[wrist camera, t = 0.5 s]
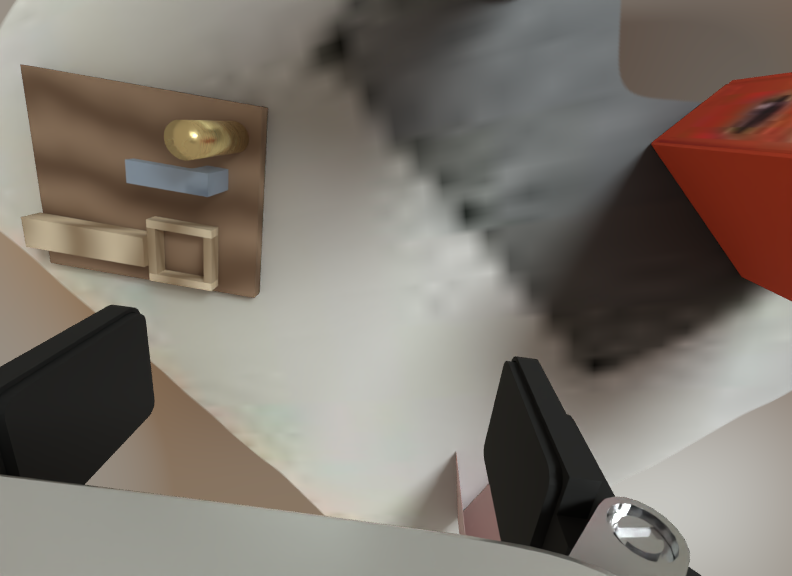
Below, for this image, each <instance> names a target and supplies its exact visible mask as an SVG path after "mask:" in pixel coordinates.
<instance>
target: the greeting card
mask: <svg viewBox="0 0 792 576" xmlns="http://www.w3.org/2000/svg"><path fill="white" fill-rule="evenodd" d="M456 473H457V507H458V525H459V534H461V535H468V536H473V537H479V538H485V539H491V540H496V541H501V539H500V535H499V530H498V525H497V520H496V515H495V510H494V505H493V500H492V495H491V490H490V485H489V484H488V485H487V486H486V487H485V488H484V490H483V491H482V492H481V493H480V494H479V495H478V496H477V497H476V498H475V499H474V500H473V501H472V503H471V504H470V505H469V506H468V507H467V508H466V509H465V510H464V511H463V508H462V499H461V490H460V481H459V472H458V463H457V454H456Z"/></svg>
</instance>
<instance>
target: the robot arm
mask: <svg viewBox="0 0 792 576" xmlns="http://www.w3.org/2000/svg"><path fill="white" fill-rule="evenodd" d="M153 408H154V392H153V383H152V374H151V364H150V354H149V345H148V336H147V327H146V319H145V317H144V315H142V314H140V312H139V310H138V309H136V308H133V307H125V306H118V305H110V306H107V307H105V308H104V309H102V310H100V311H98V312H97V313H95V314H93V315H91V316H90V317H88V318H86V319H84V320H82V321H81V322H79V323H77V324H75V325H73V326H72V327H70V328H68V329H66V330H65V331H63V332H62V333H59V334H58V335H56V336H54V337H52V338H50V339H49V340H47V341H45V342H43V343H42V344H40V345H38V346H36V347H35V348H33V349H31V350H30V351H28V352H26V353H24V354H22V355H20V356H19V357H17V358H15V359H13V360H12V361H10V362H8V363H6V364H4V365H3V366H1V367H0V576H701V575H700V574H698V573H697V572H695V571H694V570H692V569H691V568H690V567H688V566H689V562H690V551H689V548H688V546H687V543H686V541H685V539H684V538H683V536H682V535H681V534H680V532H679V531H678V529H677V528H676V527H675V526H674V525H673V524H672V523H671V522H670V521H669V520H668V519H667V518H665V517H664V516H663V515H661V514H660V513H659V512H657V511H656V510H654V509H653V508H651V507H649V506H647V505H645V504H643V503H641V502H639V501H636V500H633V499H629V498H625V497H615V495H614V494H613V492H612V490H611V488H610V486H609V484H608V483H607V481H606V479H605V477H604V475H603V473H602V471H601V470H600V468H599V466H598V464H597V462H596V460H595V458H594V457H593V455H592V453H591V451H590V449H589V447H588V445H587V444H586V442H585V440H584V438H583V436H582V434H581V433H580V431H579V429H578V427H577V425H576V423H575V421H574V420H573V418H572V417H571V416H570V415H567V414H566V412H565V410H564V409H563V407H562V405H561V403H560V401H559V399H558V397H557V395H556V393H555V391H554V390H553V388H552V386H551V384H550V382H549V380H548V378H547V376H546V374H545V372H544V371H543V369H542V367H541V365H540V363H539V361H538V360H537V359H531V358H523V357H514V358H513V359H512V361H511V362H510V361H506V362H505V363H504V366H503V370H502V374H501V378H500V383H499V387H498V391H497V395H496V399H495V403H494V407H493V411H492V415H491V419H490V424H489V428H488V432H487V436H486V440H485V445H484V461H485V465H486V470H487V475H488V480H489V485H490V490H491V495H492V500H493V505H494V510H495V515H496V520H497V525H498V530H499V535H500V539H501V541H496V540H491V539H485V538H479V537H473V536H468V535H461V534H453V533H446V532H438V531H431V530H424V529H416V528H409V527H402V526H394V525H387V524H380V523H372V522H365V521H358V520H350V519H343V518H336V517H328V516H321V515H313V514H306V513H299V512H292V511H284V510H276V509H269V508H261V507H253V506H246V505H238V504H230V503H222V502H215V501H207V500H200V499H191V498H184V497H177V496H169V495H161V494H153V493H145V492H138V491H130V490H122V489H113V488H106V487H98V486H89V485H85V483H86V482H87V481H88V480H89V479H90V478H91V477H92V476H93V475H94V474H95V473H96V472H97V471H98V470H99V469H100V468H101V466H102V465H103V464H104V463H105V462H106V461H107V460H108V459H109V458H110V457H111V456H112V455H113V454H114V453H115V451H117V449H118V448H119V447H120V446H121V445H122V444H123V443H124V442H125V441H126V440H127V439H128V438H129V437H130V436H131V435H132V434H133V433H134V431H135V430H136V429H137V428H138V427H139V426H140V425H141V424H142V423H143V422H144V421H145V420H146V419H147V418H148V416H149V415H150V414H151V412H152V410H153Z"/></svg>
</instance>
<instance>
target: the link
mask: <svg viewBox="0 0 792 576" xmlns="http://www.w3.org/2000/svg"><path fill="white" fill-rule="evenodd" d="M21 220H22V226H23V231H24V237H25V243H26V247H31V248H36V249H42V250H48V251H54V252H60V253H65V254H71V255H77V256H83V257H89V258H94V259H100V260H106V261H112V262H118V263H123V264H129V265H135V266H141V267H146V266H148V265H149V278H150V281H156V282H161V283H167V284H173V285H179V286H185V287H190V288H196V289H202V290H208V291H212V290H214V289H215V288H216V287H217V286H218V227H214V226H209V225H203V224H197V223H191V222H186V221H180V220H174V219H168V218H162V217H157V216H154V217H151V218H149V219H146V229H147V231H144V230H138V229H132V228H126V227H121V226H115V225H109V224H103V223H98V222H92V221H86V220H80V219H74V218H69V217H63V216H57V215H51V214H46V213H37V214H32V215H28V216H23V217H21ZM164 231H170V232H176V233H182V234H187V235H193V236H199V237H203V252H204V276H199V275H193V274H187V273H181V272H175V271H170V270H165V249H164Z"/></svg>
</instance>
